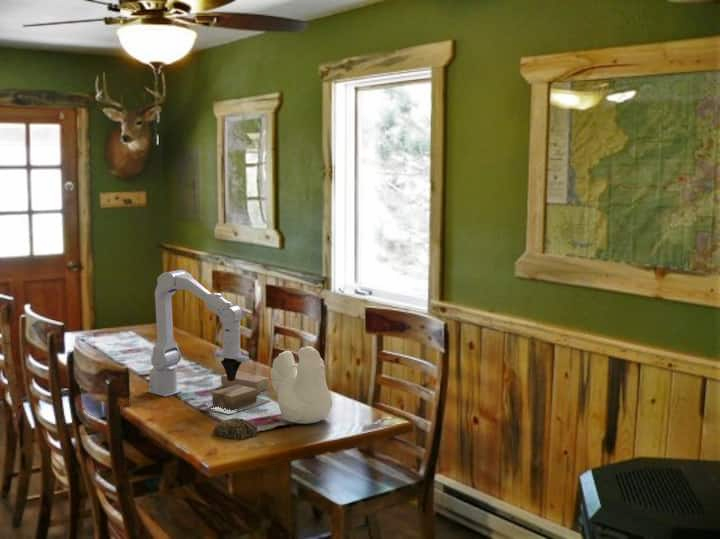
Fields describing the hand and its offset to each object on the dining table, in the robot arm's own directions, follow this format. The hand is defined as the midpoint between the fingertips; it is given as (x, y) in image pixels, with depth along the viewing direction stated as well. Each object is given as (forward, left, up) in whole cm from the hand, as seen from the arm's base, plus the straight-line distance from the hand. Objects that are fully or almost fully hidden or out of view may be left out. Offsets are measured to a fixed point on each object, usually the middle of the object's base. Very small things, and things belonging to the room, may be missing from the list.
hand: (231, 380), depth 266 cm
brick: (-10, +18, -8) cm, 22 cm away
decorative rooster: (+28, +3, -8) cm, 29 cm away
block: (-3, 0, -5) cm, 6 cm away
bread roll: (+23, -20, -8) cm, 32 cm away
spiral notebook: (+4, 0, -8) cm, 9 cm away
